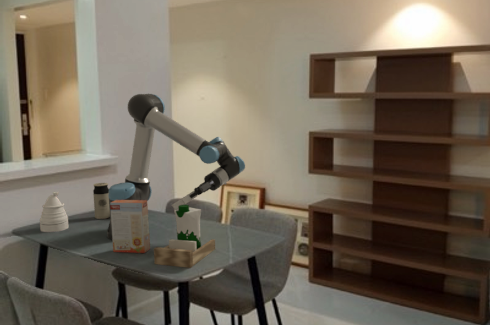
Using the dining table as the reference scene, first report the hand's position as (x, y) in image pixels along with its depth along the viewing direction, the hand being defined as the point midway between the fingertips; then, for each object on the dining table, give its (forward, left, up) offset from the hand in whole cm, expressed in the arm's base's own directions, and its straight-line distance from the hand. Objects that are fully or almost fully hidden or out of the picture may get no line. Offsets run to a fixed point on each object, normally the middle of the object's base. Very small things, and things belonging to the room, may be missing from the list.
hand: (178, 204), depth 209 cm
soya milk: (+10, -12, -17) cm, 23 cm away
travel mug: (-62, +32, -17) cm, 72 cm away
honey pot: (-72, +7, -17) cm, 74 cm away
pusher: (+10, -17, -17) cm, 26 cm away
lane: (+10, -14, -17) cm, 24 cm away
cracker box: (-15, -14, -17) cm, 27 cm away
